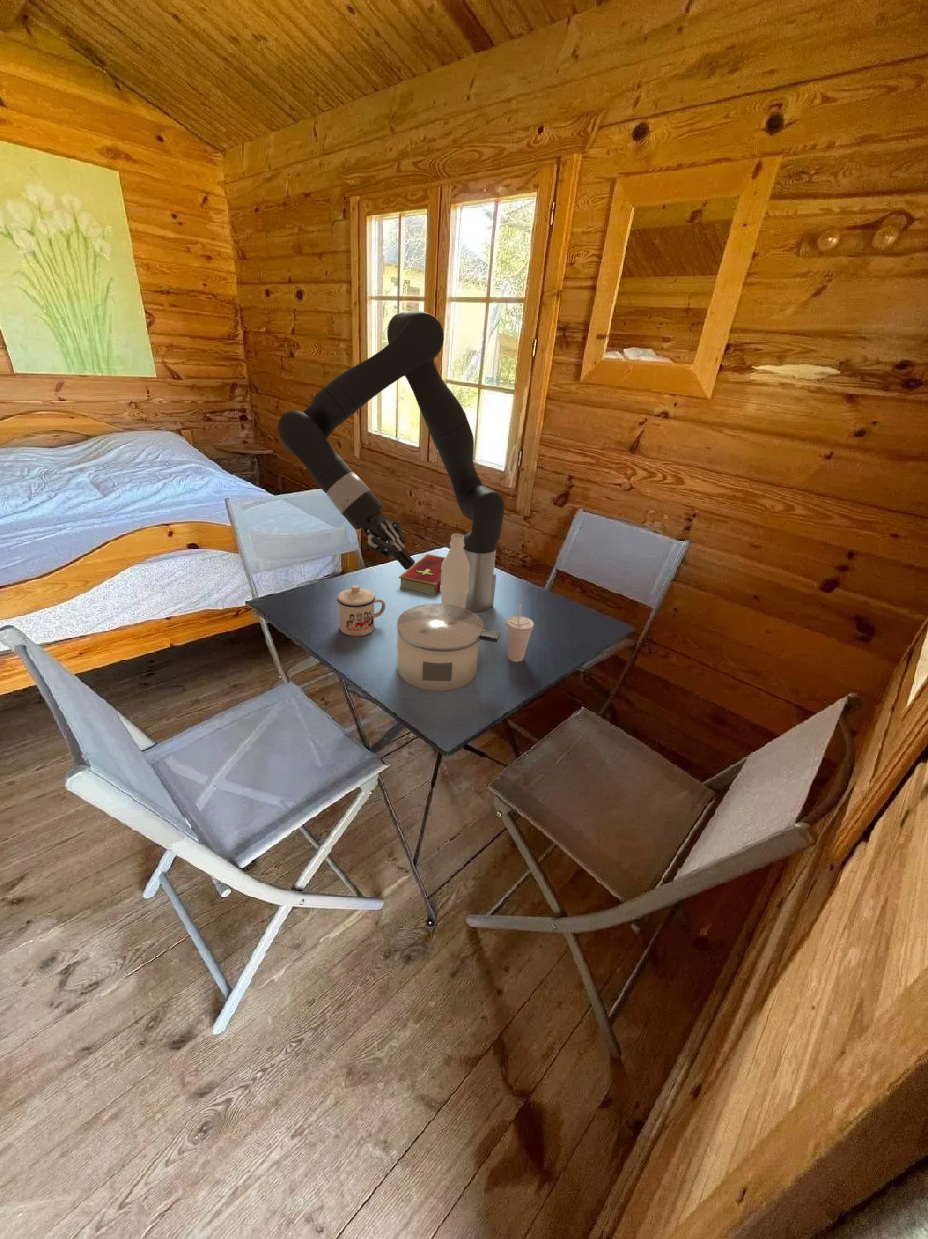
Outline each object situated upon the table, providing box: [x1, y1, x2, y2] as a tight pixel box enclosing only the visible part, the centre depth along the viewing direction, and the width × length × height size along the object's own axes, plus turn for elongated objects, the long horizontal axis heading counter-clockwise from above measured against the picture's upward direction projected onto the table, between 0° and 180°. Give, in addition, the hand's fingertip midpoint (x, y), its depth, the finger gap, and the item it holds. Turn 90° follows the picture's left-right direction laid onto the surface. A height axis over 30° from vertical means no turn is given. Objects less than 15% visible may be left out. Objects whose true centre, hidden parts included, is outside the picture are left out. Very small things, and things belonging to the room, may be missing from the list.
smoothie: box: [505, 604, 535, 663], centre depth 120 cm, size 6×6×14 cm
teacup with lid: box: [336, 584, 386, 637], centre depth 128 cm, size 12×9×12 cm
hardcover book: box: [398, 553, 446, 596], centre depth 160 cm, size 12×21×4 cm, turn 160°
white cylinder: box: [396, 629, 480, 692], centre depth 115 cm, size 18×19×10 cm
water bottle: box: [439, 533, 470, 609], centre depth 128 cm, size 7×7×25 cm
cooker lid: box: [396, 603, 501, 652], centre depth 112 cm, size 22×19×2 cm
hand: (411, 566), depth 107 cm, fingers closed
